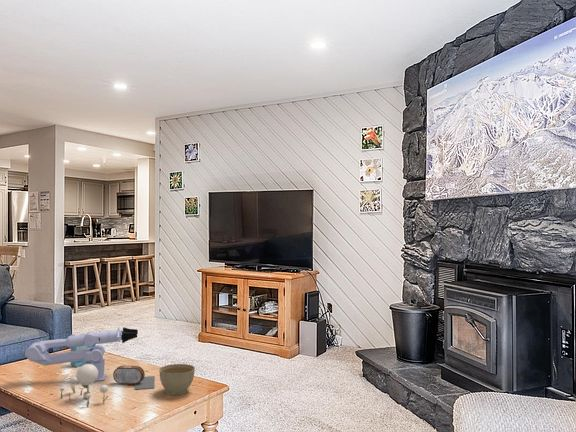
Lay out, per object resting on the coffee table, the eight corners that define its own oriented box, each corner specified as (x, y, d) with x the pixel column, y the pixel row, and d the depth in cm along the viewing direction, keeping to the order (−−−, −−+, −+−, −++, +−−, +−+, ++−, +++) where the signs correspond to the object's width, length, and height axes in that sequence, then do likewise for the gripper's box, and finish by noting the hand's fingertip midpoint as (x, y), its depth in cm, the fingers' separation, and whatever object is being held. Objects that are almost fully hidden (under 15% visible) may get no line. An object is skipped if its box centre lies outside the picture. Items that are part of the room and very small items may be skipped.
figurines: (114, 401, 210) (115, 366, 210) (91, 410, 200) (91, 373, 200) (78, 390, 223) (79, 357, 223) (55, 398, 213) (55, 363, 213)
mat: (134, 389, 225) (134, 389, 225) (136, 378, 242) (136, 377, 242) (154, 388, 227) (154, 387, 227) (154, 376, 244) (154, 375, 244)
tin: (145, 382, 233) (144, 365, 234) (142, 384, 230) (142, 367, 230) (115, 382, 235) (114, 365, 235) (112, 384, 232) (112, 367, 232)
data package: (74, 367, 257) (75, 345, 258) (70, 366, 260) (70, 344, 260) (95, 363, 267) (95, 341, 267) (90, 361, 270) (91, 340, 270)
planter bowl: (201, 392, 223) (201, 368, 223) (170, 401, 211) (171, 376, 212) (182, 383, 234) (182, 361, 234) (152, 391, 223) (152, 368, 223)
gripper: (107, 332, 235) (136, 328, 238) (109, 325, 249) (137, 322, 252) (108, 346, 235) (137, 342, 238) (110, 339, 249) (138, 336, 252)
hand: (137, 333), depth 245 cm, fingers open, 7 cm apart
